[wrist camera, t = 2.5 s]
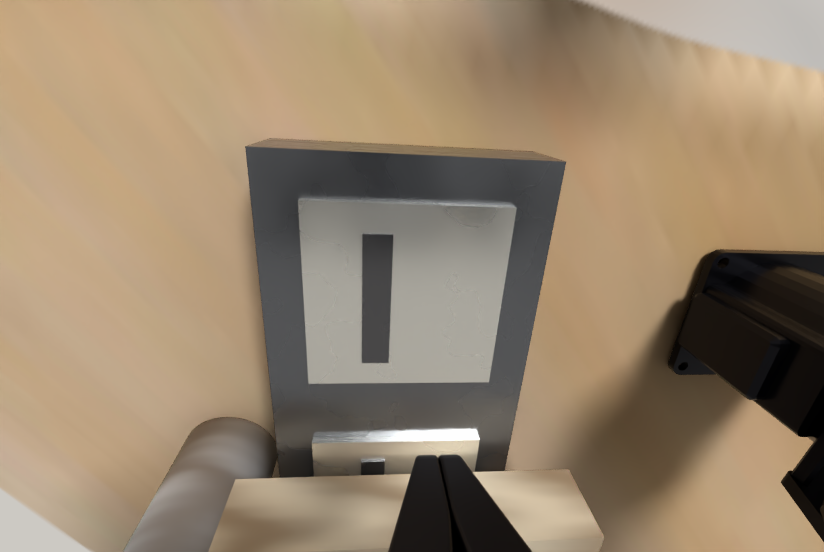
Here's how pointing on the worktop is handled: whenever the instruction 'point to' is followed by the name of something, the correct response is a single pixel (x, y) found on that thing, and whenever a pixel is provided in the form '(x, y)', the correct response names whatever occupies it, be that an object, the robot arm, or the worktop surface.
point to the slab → (397, 298)
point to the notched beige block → (326, 503)
